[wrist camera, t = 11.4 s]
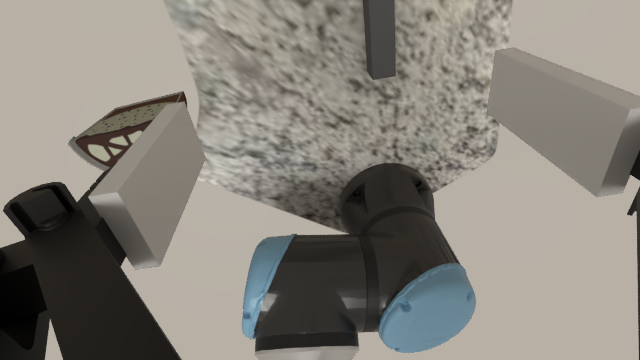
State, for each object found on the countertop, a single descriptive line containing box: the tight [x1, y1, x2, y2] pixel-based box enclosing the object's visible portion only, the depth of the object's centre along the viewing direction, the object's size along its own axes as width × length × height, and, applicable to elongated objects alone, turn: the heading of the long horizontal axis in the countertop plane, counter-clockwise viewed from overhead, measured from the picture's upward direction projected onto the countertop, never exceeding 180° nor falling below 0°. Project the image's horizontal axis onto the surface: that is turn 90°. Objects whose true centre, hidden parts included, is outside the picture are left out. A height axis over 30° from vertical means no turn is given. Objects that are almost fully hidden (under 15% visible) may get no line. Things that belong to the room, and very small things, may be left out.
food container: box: [68, 92, 187, 171], centre depth 42 cm, size 12×6×10 cm, turn 102°
